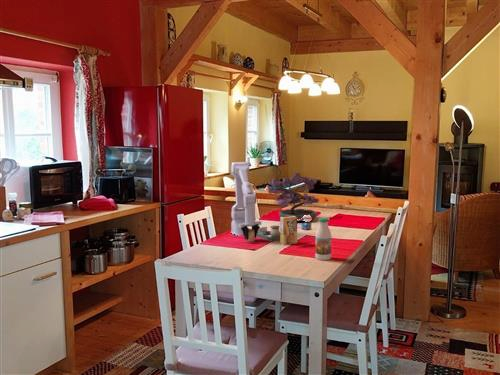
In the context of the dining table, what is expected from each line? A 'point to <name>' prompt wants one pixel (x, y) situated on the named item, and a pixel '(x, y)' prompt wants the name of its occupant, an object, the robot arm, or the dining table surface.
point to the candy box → (288, 230)
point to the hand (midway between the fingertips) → (250, 238)
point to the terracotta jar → (251, 235)
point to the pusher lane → (269, 236)
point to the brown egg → (274, 230)
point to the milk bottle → (323, 240)
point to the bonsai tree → (294, 196)
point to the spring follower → (262, 230)
